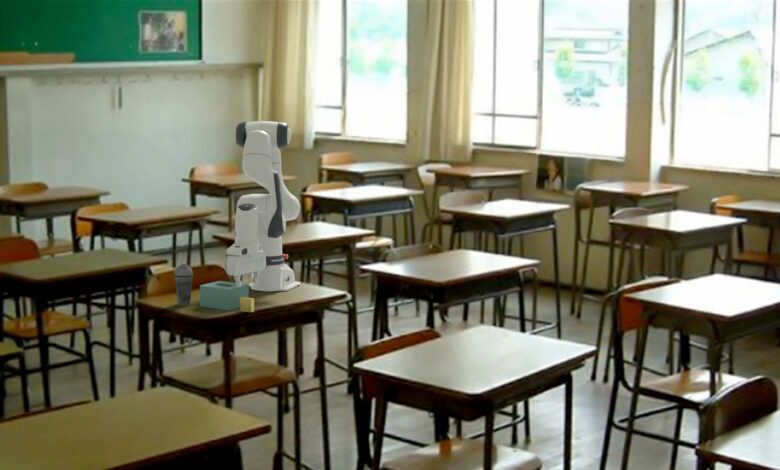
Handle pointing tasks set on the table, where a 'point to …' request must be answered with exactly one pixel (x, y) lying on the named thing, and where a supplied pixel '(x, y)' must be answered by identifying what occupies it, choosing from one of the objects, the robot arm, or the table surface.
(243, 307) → the yellow square block
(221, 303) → the box
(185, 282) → the beverage cup
